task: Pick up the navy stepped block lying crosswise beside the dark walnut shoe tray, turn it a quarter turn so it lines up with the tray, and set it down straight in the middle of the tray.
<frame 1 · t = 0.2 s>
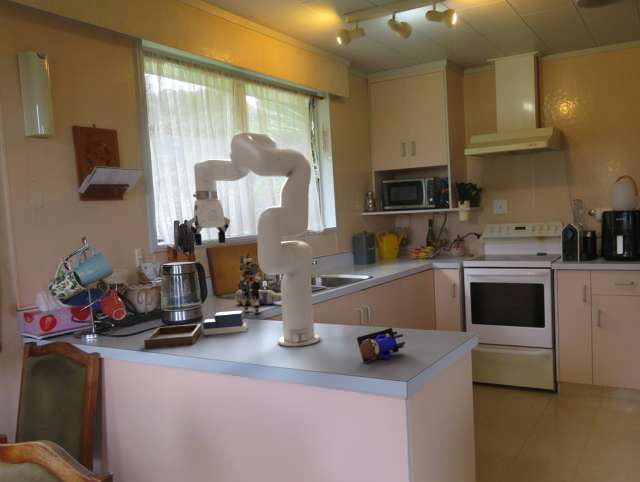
hand: (210, 243, 195), 31 cm above the table, tool pointing down, fingers open, 9 cm apart
toy: (252, 313, 223), on the table
shoe tray: (175, 339, 181), on the table
decorative bottle: (260, 304, 245), on the table
navy stepped block: (225, 331, 190), on the table
character figurine: (381, 359, 144), on the table
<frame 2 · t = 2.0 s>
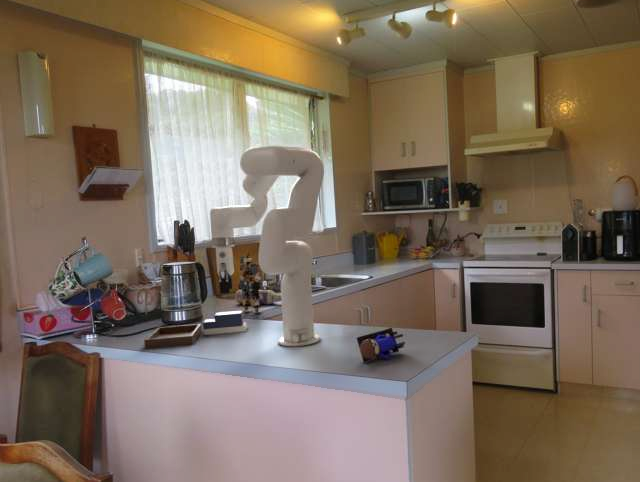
hand: (226, 291, 189), 14 cm above the table, tool pointing down, fingers open, 9 cm apart
nothing on the table moved.
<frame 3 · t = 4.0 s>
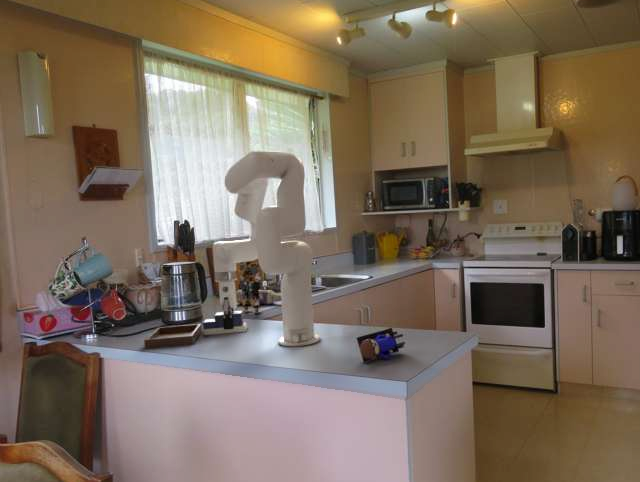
hand: (229, 326, 190), 2 cm above the table, tool pointing down, fingers closed on navy stepped block, 6 cm apart
navy stepped block: (225, 331, 190), on the table, touching gripper
everything else where it was.
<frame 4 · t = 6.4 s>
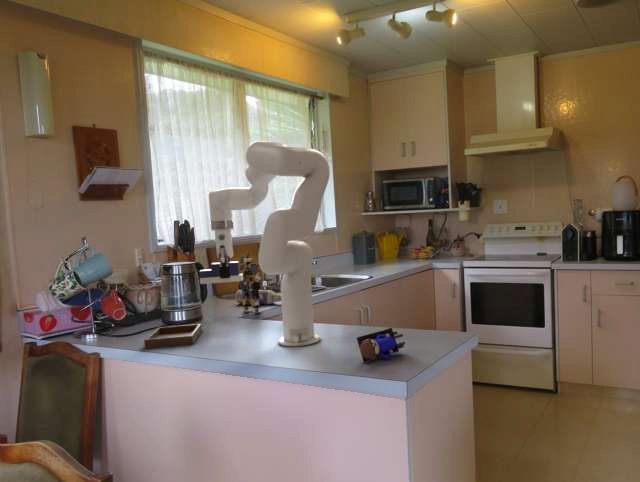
hand: (226, 276, 189), 19 cm above the table, tool pointing down, fingers closed on navy stepped block, 6 cm apart
navy stepped block: (222, 281, 189), point 18 cm above the table, touching gripper
everything else where it was.
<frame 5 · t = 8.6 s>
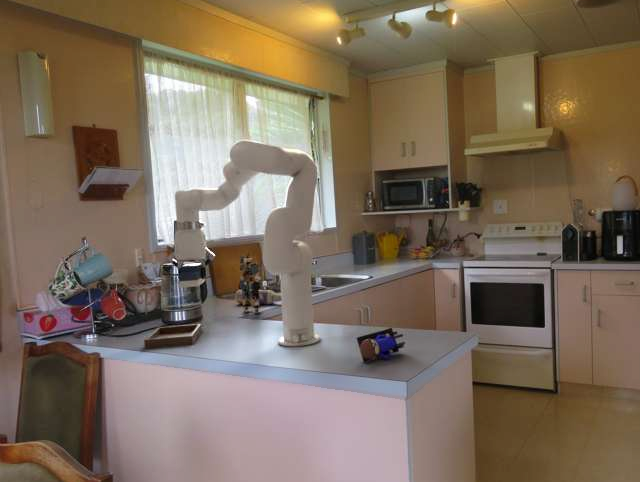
hand: (193, 278, 184), 20 cm above the table, tool pointing down, fingers closed on navy stepped block, 6 cm apart
navy stepped block: (192, 284, 182), point 18 cm above the table, touching gripper
everything else where it was.
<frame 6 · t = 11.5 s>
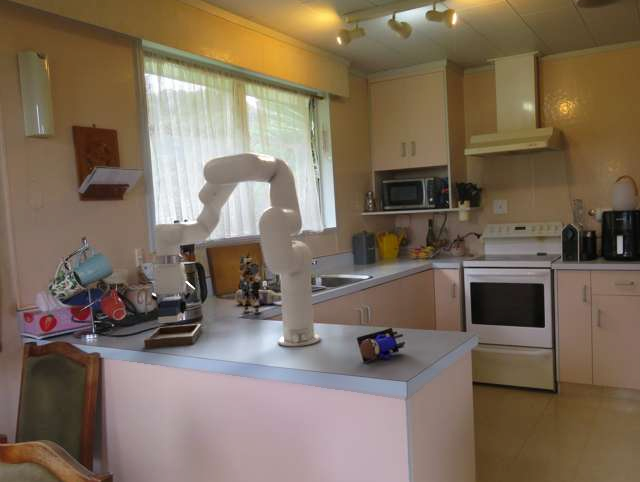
hand: (173, 313, 181), 9 cm above the table, tool pointing down, fingers closed on navy stepped block, 6 cm apart
navy stepped block: (172, 318, 180), point 7 cm above the table, touching gripper
everything else where it was.
when the fingers open (2 cm above the table, at t = 13.6 s): navy stepped block stays where it is, resting on shoe tray.
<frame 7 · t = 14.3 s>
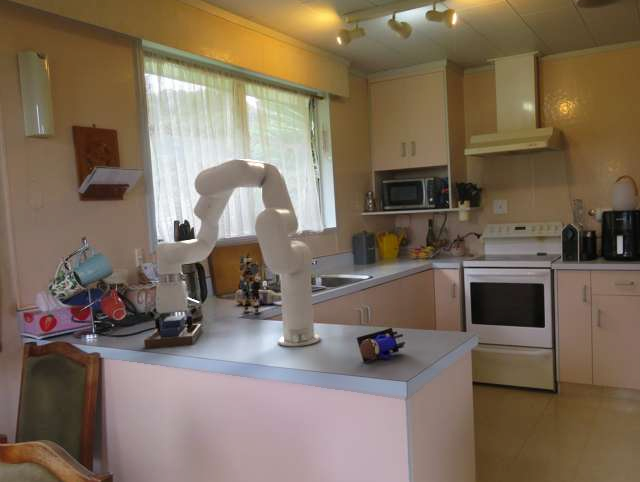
hand: (174, 329, 182), 3 cm above the table, tool pointing down, fingers open, 9 cm apart
navy stepped block: (174, 338, 180), point 1 cm above the table, touching shoe tray
everything else where it was.
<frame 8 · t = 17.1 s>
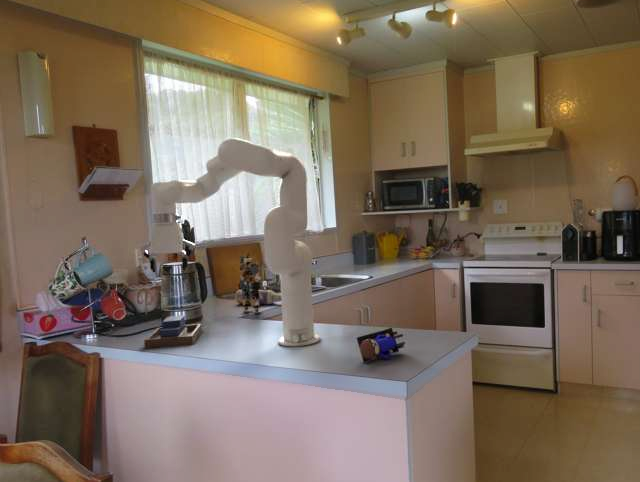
hand: (169, 270, 180), 23 cm above the table, tool pointing down, fingers open, 9 cm apart
nothing on the table moved.
at the end: navy stepped block 0.8 cm off-centre in the shoe tray, point 0.6 cm above the shoe tray's base; navy stepped block tilted 0°; the gripper is holding nothing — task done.
